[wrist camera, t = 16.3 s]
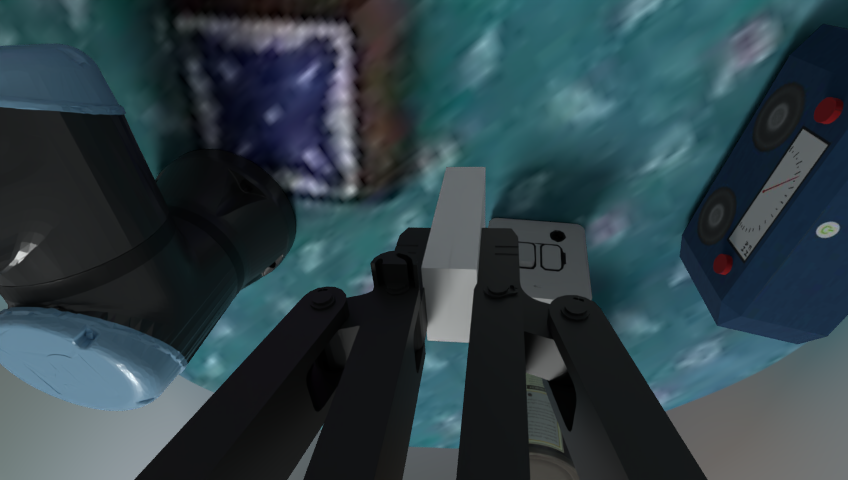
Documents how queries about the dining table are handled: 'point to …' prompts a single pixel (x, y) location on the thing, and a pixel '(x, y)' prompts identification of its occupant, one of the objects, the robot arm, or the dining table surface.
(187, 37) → the dining table surface
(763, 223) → the radio
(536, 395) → the coffee can
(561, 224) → the electrical switch
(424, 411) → the dining table surface
